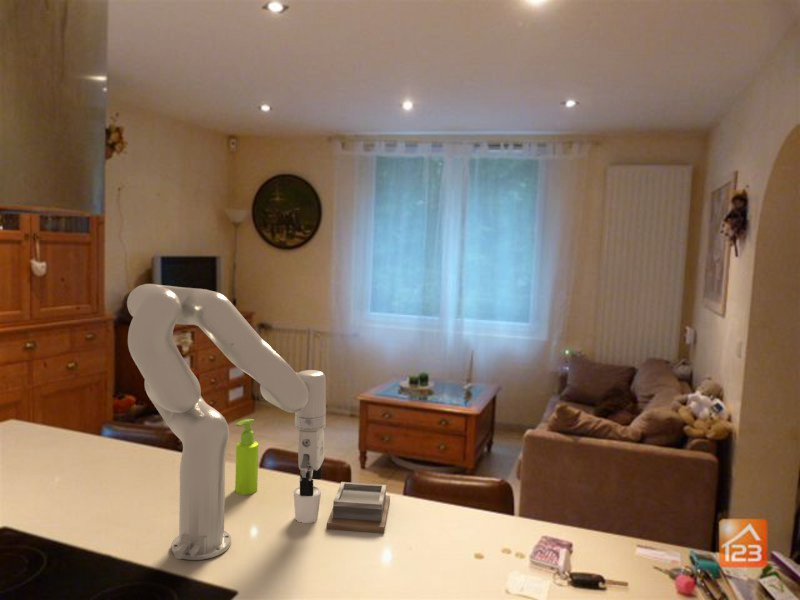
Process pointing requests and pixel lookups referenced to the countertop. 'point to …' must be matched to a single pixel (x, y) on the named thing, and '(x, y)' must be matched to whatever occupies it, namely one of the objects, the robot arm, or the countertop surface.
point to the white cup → (307, 506)
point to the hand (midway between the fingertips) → (310, 486)
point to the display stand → (359, 508)
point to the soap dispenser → (246, 460)
